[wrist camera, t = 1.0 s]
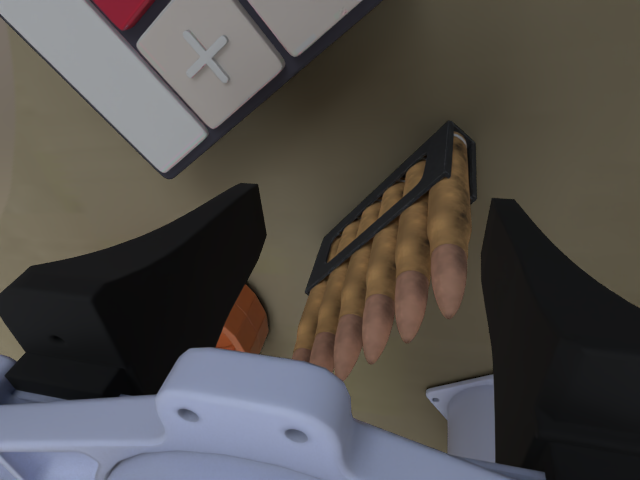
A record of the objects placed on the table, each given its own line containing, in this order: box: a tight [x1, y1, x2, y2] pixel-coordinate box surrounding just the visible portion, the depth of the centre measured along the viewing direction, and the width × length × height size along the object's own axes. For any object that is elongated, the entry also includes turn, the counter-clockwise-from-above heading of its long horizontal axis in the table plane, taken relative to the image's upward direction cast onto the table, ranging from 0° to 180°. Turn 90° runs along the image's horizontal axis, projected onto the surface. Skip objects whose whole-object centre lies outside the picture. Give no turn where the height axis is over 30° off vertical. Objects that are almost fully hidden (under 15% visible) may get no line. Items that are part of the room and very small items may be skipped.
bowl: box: [216, 284, 269, 354], centre depth 33 cm, size 12×12×4 cm
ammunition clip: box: [292, 121, 477, 381], centre depth 20 cm, size 11×2×12 cm, turn 143°
